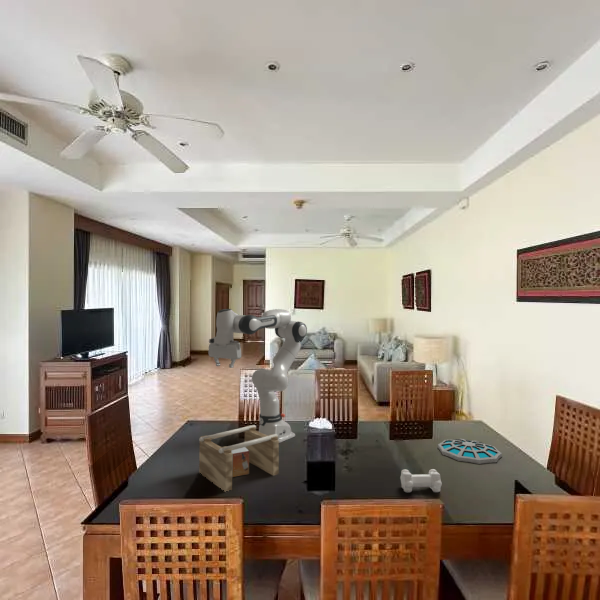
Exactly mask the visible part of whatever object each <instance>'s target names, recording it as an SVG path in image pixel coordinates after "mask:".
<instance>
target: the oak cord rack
mask: <svg viewBox="0 0 600 600" xmlns="http://www.w3.org/2000/svg"><path fill="white" fill-rule="evenodd" d="M247 426H251V424H250V425H246V426H244V427H247ZM271 435H273V434H271ZM204 436H208V435H201V436H200V437H204ZM266 436H270V435H265V434H263V433H260V432H259V430H257V426H256V427H252V428H249V431H244V442H247V441H251V440H254V439H258V438H262V437H266ZM279 444H280V443H279V440H278V437H277V436H275V437H271V440H269V441H265V442H262V443H258V444H254V445H250V446H247V447H246V448H247V449H248V450H249V464H252V465H254V467H256V468H258V469H261V470H262V471H264V472H266V473H268V474H269V475H271V476H273V477H274V476H277V475H280V470H279V469H280V468H279V466H280V464H279V463H280V456H279V455H280V452H279V451H280V449H279V448H280V445H279ZM224 447H228V446H220V445H218V444H217V443H214V442H213V441H212V439H211V438H205V439H204V441H203V442H200V441H199V447H198V448H199V451H198V452H199V457H198V459H199V464H198V465H199V466H198V469H199V474H200V473H201V474H202V476H203V477H204V478H205V477H206V479H207V480H208V481H209V482H211V483H212V482H213V485H215V486H216V487H217V488H219V489H220V488H221V490H222V491H223V490H224V491H223V492H224V493H227V492H226V491H228V492H230V491H229V490H231V491H232V490H233V477H232V453H231V449H226V450H224V453H219V449H220V448H224ZM201 474H200V475H201Z"/></svg>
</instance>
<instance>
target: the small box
mask: <svg viewBox="0 0 600 600" xmlns="http://www.w3.org/2000/svg"><path fill="white" fill-rule="evenodd" d="M231 453H232V478H234V477H239V476H245V475H249V474H250V462H249V450H248V449H247V448H246V447H243V448H239V449H236V450H232V451H231Z"/></svg>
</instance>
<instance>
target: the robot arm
mask: <svg viewBox="0 0 600 600" xmlns="http://www.w3.org/2000/svg"><path fill="white" fill-rule="evenodd" d="M215 323H216V335H215V336H214V337H212V338H209V339H208V351H207V353H208V356H209V357H210V358H213V361H214V362H215V366H216V367H220V366H221V362H220V361H219V359H227V360H228V359H229V360H230V363H229V365H228V367H229V368H230V369H231V368H234V365H235V362H236V360H240V359H241V358H242V348H241V343H240V342H239V341H238V340H234V333H235V334H246V335H253V334H255V333H256V332H258V331H259V330H262V329H270V330H273V329H274V334H275V336H276V337H278V338H280V339H284V342H283V344H282V345H281V346H280V348H279V350H278V351H277V352H276V354H275V355H274V357H273V358H272V363H273V367H272V369H265V368H263V369H260V368H259V369H256V370H255V371H254V372H253V373H252V376H251V382H252V384H253V386H254V387H255V389H256V391H257V394H258V397H259V414H258V415H259V417H258V419H259V420H258V421H259V426H258V427H259V428H258V432H260V433H263V434H265V435H271V434H277V435H278V440H279V444H280V443H283V442H284V441H287V440H290V439H292V438H294V437H296V433H295V432H293V431H292V428H291V425H290V424H289V423H288V422H286V421H285V420H283V419H284V418H285V417H286V414H285V413H281V412H280V400H279V397H278V396H277V394H276V392H283V391H285V390H286V389H287V388H288V386H289V384H290V383H289V382H290V381H289V377H288V372H289V369H290V368H291V366H292V364H293V363H294V361H295V360H296V359H297V356H298V355H299V352H300V350H301V346H302V345H301V342H303V341H304V339H305V337H306V336H307V332H308V328H307V325H306V324H305V323H304V322H302V321H296V320H292V315H291V313H290V311H288V310H287V309H282V308H281V309H280V308H278V309H277V308H275V309H274V308H273V309H268V310H266V311H264V312H263V313H262V314H261V316H260V317H259V316H257V315H252V314H247V315H244V314H243V315H241V314H238V313H236V312H235V311H233V309H232V308H224V309H223V308H222V309H220V310H218V311H217V314H216V321H215ZM282 418H283V419H282Z"/></svg>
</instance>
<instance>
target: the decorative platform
mask: <svg viewBox="0 0 600 600" xmlns="http://www.w3.org/2000/svg"><path fill="white" fill-rule="evenodd" d="M437 449H438V450H439V451H440V452H441V454H442V456H446V457H448V458H450V459H454V460H456V461H457V462H464V463H465V462H466V463H471V464H477V465H481V464H490V463H491V464H493V463H494V464H495V463H497V462H498V461H499V460H500V459H501V458H503V453H502V452H501V451H499V450H498V448H496V447H495V446H493V445H490V444H487V443H484V442H482V441H479V440H471V439H464V438H458V439H457V438H455V439H454V438H453V439H444V440H443V441H441V442H439V443H438V444H437Z"/></svg>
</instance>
